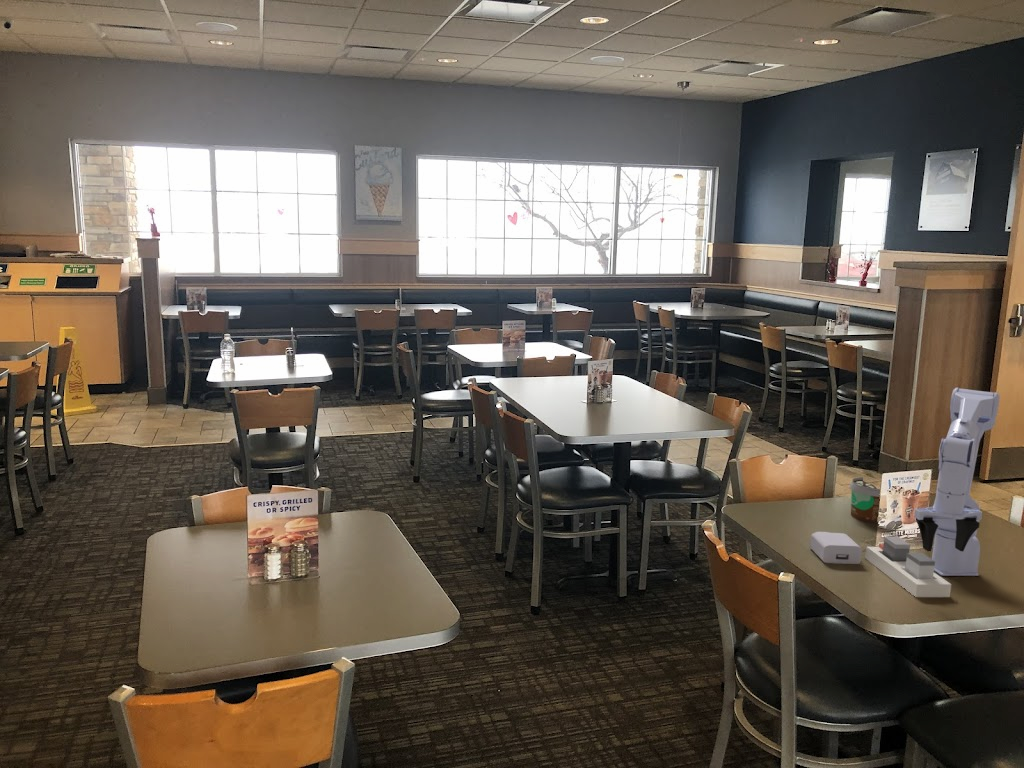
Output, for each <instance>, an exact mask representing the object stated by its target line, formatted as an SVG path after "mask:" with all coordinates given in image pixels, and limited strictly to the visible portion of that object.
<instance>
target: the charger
mask: <svg viewBox="0 0 1024 768" xmlns="http://www.w3.org/2000/svg"><path fill="white" fill-rule="evenodd" d="M809 547H810V550H812V551H813V553H814V554H815V555H816V556H818V558H819V559H820V560H821V561H822V562H823V563H824V564H845V565H846V564H850V565H853V564H854V565H859V564H860V563H861V562H862V555H863V548H862V547H861V546H860V545H859V544H857V542H855V541H854V539H852V538H851V537H850V536H848V534H846V533H842V532H829V531H815V532H813V533H812V534H811V535H810V545H809Z"/></svg>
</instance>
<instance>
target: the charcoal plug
mask: <svg viewBox="0 0 1024 768" xmlns="http://www.w3.org/2000/svg"><path fill="white" fill-rule="evenodd" d="M882 544H883V552H882V554H883V555H884V556H885V557H887V558H888V559H889V560H891V561H892V562H906V559H907V553H910V548H911V544H910V543H909V542H907V541H906V540H904V539H903V538H901V537H900V536H884V539H883V543H882Z"/></svg>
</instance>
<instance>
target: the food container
mask: <svg viewBox="0 0 1024 768" xmlns="http://www.w3.org/2000/svg"><path fill="white" fill-rule="evenodd" d="M849 489H850V490H851V498H850V516H851V517H852V518H854V519H856V520H858V521H862V522H866V523H874V524H877V517H878V510H879V501H880V499H879V494H880V489H881V488H877V487H876V485H873V484H872V483H868V482H866V481H865V480H864V477H860V476H859V477H858V476H857V477H854V478H852V479H851V482H850V483H849Z"/></svg>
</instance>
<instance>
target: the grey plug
mask: <svg viewBox="0 0 1024 768" xmlns="http://www.w3.org/2000/svg"><path fill="white" fill-rule="evenodd" d="M934 566H935V561H934V560H932V557H929V556H928V555H926V554H925V553H923V552H909V553H907V559H906V567H905V571H906V572H907V573H908V574H910V575H911V576H912V577H914V578H915V579H933V574H934V573H935V571H934Z"/></svg>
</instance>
